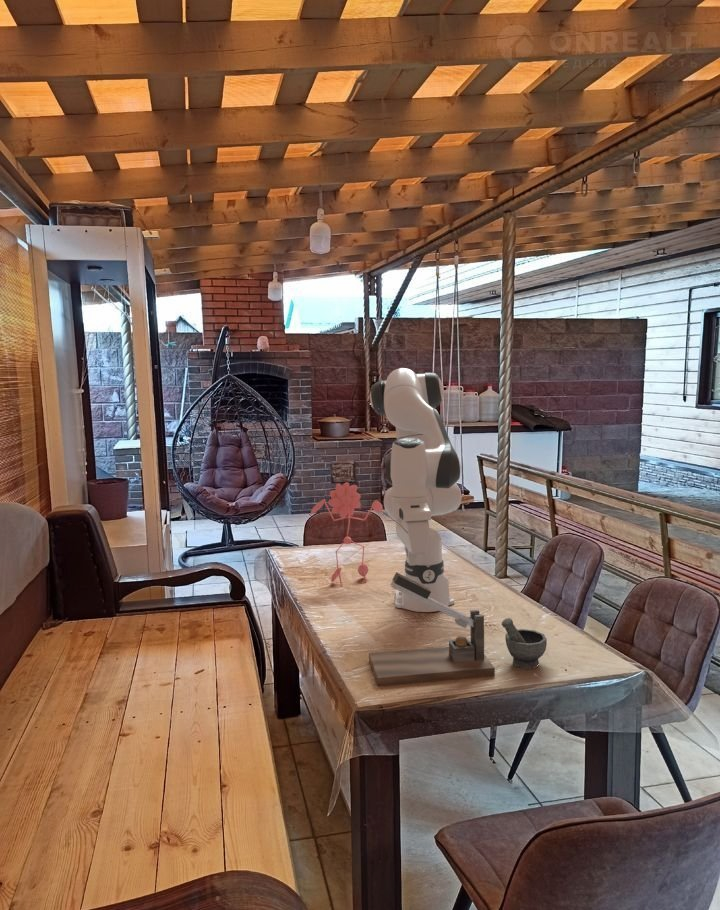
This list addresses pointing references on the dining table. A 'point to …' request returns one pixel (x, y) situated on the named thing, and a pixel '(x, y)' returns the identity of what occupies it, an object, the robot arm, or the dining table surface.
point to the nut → (461, 641)
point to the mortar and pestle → (524, 645)
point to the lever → (428, 599)
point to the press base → (435, 661)
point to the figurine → (345, 504)
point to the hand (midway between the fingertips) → (411, 564)
